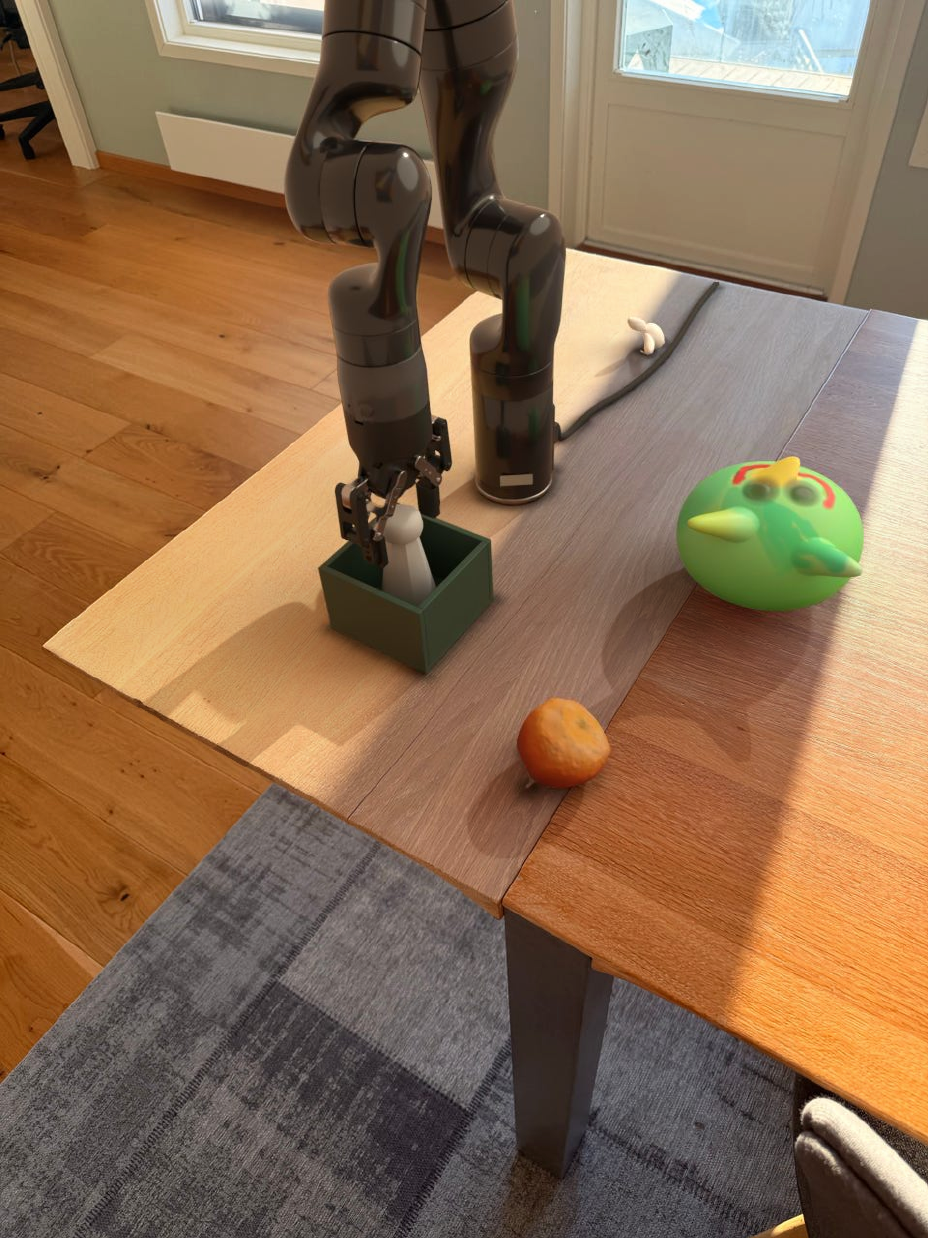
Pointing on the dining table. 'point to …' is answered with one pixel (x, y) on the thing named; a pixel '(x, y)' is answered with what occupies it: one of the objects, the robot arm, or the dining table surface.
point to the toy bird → (770, 535)
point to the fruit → (562, 744)
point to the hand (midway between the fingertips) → (404, 538)
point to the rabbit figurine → (648, 334)
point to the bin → (398, 624)
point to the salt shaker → (406, 558)
